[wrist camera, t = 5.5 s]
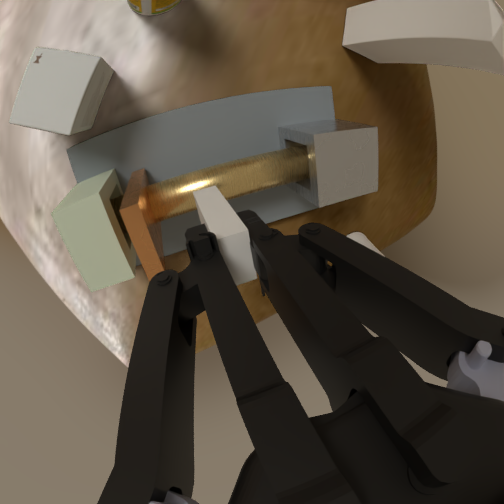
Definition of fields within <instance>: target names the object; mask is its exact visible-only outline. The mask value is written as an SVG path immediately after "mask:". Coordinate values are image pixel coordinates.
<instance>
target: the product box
mask: <svg viewBox="0 0 504 504" xmlns="http://www.w3.org/2000/svg"><path fill="white" fill-rule="evenodd" d="M113 72H114V70H113V69H112V68H111V67H110V66H109V65H108V64H107V63H106V62H105V61H104V59H102V58H101V57H100V56H95V55H90V54H84V53H79V52H73V51H68V50H59V49H52V48H44V47H36V48H35V49H34V51H33V54H32V56H31V58H30V61H29V63H28V66H27V68H26V71H25V73H24V76H23V79H22V82H21V84H20V87H19V90H18V93H17V96H16V100H15V103H14V106H13V110H12V113H11V117H10V120H9V123H10V124H15V125H20V126H24V127H29V128H34V129H39V130H43V131H48V132H53V133H57V134H62V135H68V136H70V135H72V134H75V133H78V132H82V131H85V130H89V129H91V128H92V126H93V123H94V120H95V117H96V114H97V112H98V109H99V106H100V103H101V101H102V98H103V96H104V93H105V91H106V88H107V86H108V83H109V81H110V79H111V76H112V74H113Z"/></svg>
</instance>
